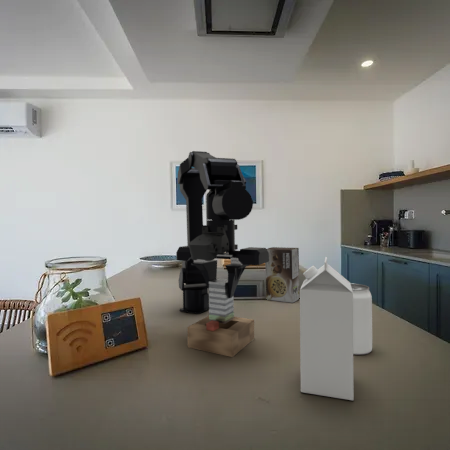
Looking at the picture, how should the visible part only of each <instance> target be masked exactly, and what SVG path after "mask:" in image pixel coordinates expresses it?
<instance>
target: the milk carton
mask: <svg viewBox="0 0 450 450" xmlns="http://www.w3.org/2000/svg"><path fill="white" fill-rule="evenodd" d="M302 275H303V276H304V277H305V279H304V280H303V282H302V284H301V286H300V287H299V297H300V299H299V346H300V347H299V350H300V351H299V353H300V354H299V357H300V358H299V362H300V364H299V367H300V368H299V371H300V393H303V394H311V395H317V396H324V397H329V398H330V397H331V398H335V399H341V400H346V401H347V400H349V401H354V400H355V399H354V389H355V388H354V354H353V291H352V287H351V284H352V283H351V282H350V281H349V280H348V279H346V278H345V277H344V276H343V275H342V274H341V273H339V272H338V271H337V270H336V269H335V268H334V267H332V266H331V265H330V264H329V263H328V256H325V258H324V264H323V265H322V266H320V267H319V268H317V267H316V266H315V265H312V266H310V267H309V268H307V269H306V270H305V271H304V272H303V274H302Z"/></svg>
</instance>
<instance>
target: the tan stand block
mask: <svg viewBox="0 0 450 450" xmlns="http://www.w3.org/2000/svg"><path fill="white" fill-rule="evenodd" d="M186 329H187V348H189V349H195V350H198V351H199V350H200V351H202V352H203V351H204V352H207V353H211V354H217V355H221V356H225V357H230V358H234V357H235V356H236V355H237V354H238V353H239V352H241V350H244V348H245V347H246V346H248V345H249V344H250V343H252V341H253V340H255V319H253V318H246V317H238V316H234V319H232V320H231V321H229V322H227V323H226V324H223V323H219V322H218V321H210V319H209V315H208V316H206V317H203V318H202V319H200V320H198V321H195V322H194V323H192V324H191V325H188V326H187V328H186Z"/></svg>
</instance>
